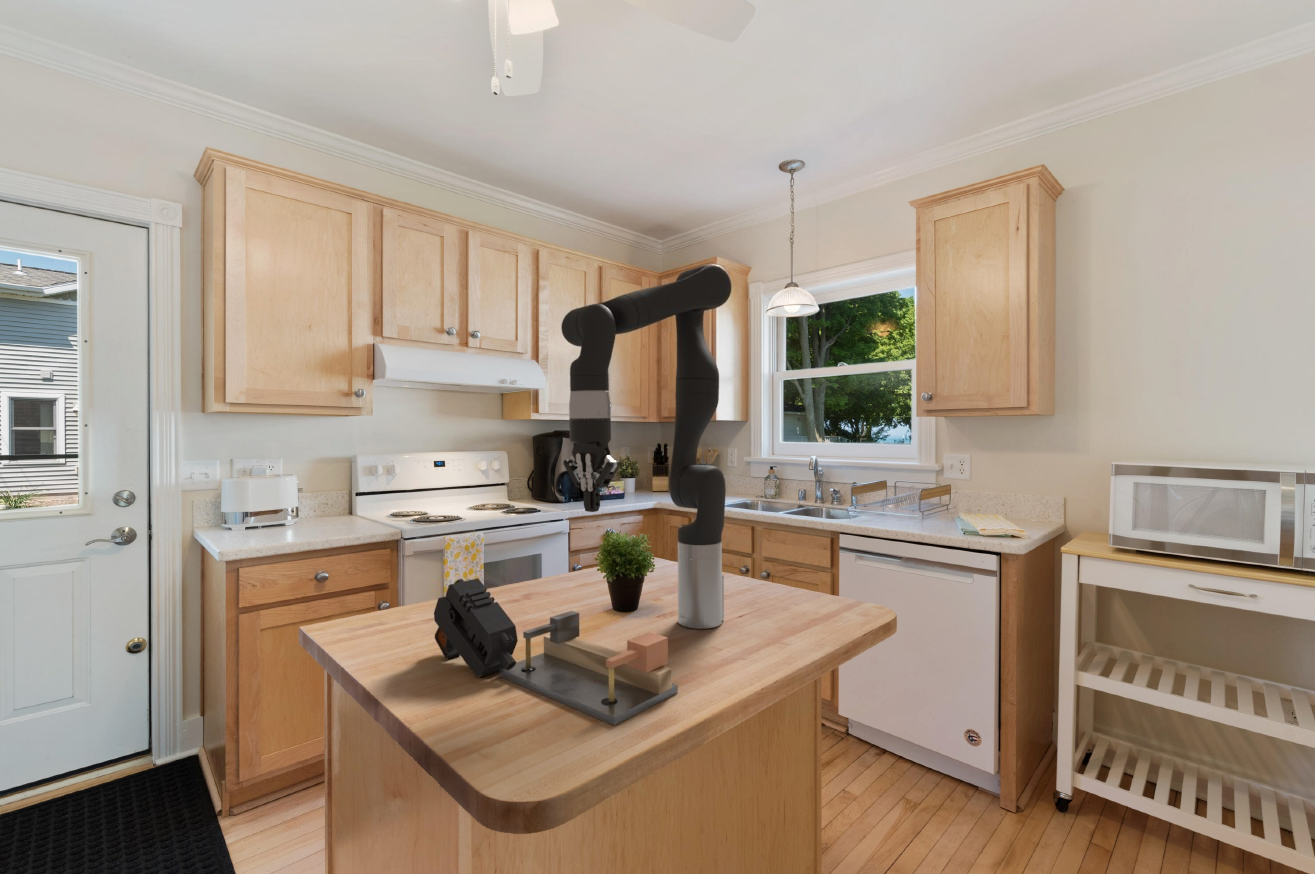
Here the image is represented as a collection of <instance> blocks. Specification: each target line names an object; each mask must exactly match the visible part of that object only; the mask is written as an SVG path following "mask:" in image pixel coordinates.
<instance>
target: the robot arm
mask: <svg viewBox="0 0 1315 874" xmlns="http://www.w3.org/2000/svg"><path fill="white" fill-rule="evenodd" d="M732 288H733V287H732V280H731V278H730V275H729V273H728V272H727V270H726V269H725V268H724V267H722V266H721V265H718V264H713V263H707V264H703V265H699V266H697V267H693V268H690V269H686V270H684V271H683V272H681V273H680V274H678V276H677V278H676V280H675V281H673V282H669V283H665V284H661V285H656V286H652V287H647V288H643V289H639V290H635V291H631V292H628V293H625V294H622V295H618V296H615V297H613V298H611V299H609V300H606V301H603V302H600V303H599V302H598V303H593V304H589V305H588V304H587V305H584V306H581V307H578V308H577V307H576V308H574V309H572V310H570V311H568V313H566V314H565V315H564V317H563V319H562V322H561V333H562V336H563V338H564V339H565V341H567V342H568V343H570V344H571V345H572V346H575V347H579V348H580V352H579V356H578V357H577V358H575V359H574V360H573V361H572V362H571V363H570V367H569V387H570V388H569V389H570V391H569V393H570V395H569V401H568V402H569V403H568V404H569V405H568V406H569V407H568V411H569V412H568V414H569V415H568V417H569V419H568V420H569V442H570V443H573V445H572V446H573V447H572V450H571V456H570V457H569V458H568V459H564V460H563V466H564V467H565V470H566V472H567V473H568V476H569V477H570V479H571V481H572V483H573V485H574V486H575V487H576V488H580V489H581V491H582V492H583V508H584V510H585V512H588V513H594V512H598V511H599V510H600V507H601V491H602V489H605V488H608V487H609V486H610V484H611V482H612V481H613V478H614V477H615V475H616V473H617V472H618V470H619V468H620V466H621V462H620V460H614V458H613V457H612V456H611V450H610V447H609V443H610V442H611V441H612V419H611V418H612V417H611V415H612V412H611V411H612V409H611V399H610V386H609V385H610V382H609V381H610V380H609V379H610V378H609V376H610V374H609V368H610V367H609V366H610V364H611V360H612V356H613V350H614V346H615V342H616V341H615V340H616V336H617V335H623V334H627V333H631V332H634V331H636V330H637V331H638V330H640V329H642V328H645V327H648V326H651V325H653V324H656V323H659V322H661V321H663V320H665V319H668V318H671V317H673V316H675V328H676V372H675V373H676V374H675V416H674V418H675V419H674V435H673V436H674V437H673V447H672V455H671V463H670V471H669V481H668V482H669V487H668V488H669V495H670V498H671V501H672V503H674V505H675V506H676V507H679V508H683V509H685V508H686V509H693V510H696V517H695V520H694V521H692V522H691V523H688V524H685V525H682V526H680V527H679V528H678V531H677V596H678V597H677V607H678V608H677V615H678V616H677V623H678V624H679V625H680V626H682V627H685V628H690V629H697V630H698V629H700V630H704V629H705V630H706V629H711V628H713V629H714V628H716V627H719V626H721V625H722V623H723V620H725V584H724V583H725V577H724V575H723V574H722V572H723V568H722V565H723V564H722V563H723V562H722V561H723V558H722V555H723V554H722V553H723V552H722V550H723V549H722V548H723V547H722V544H723V543H722V540H723V539H722V535H723V531H724V526H725V510H726V509H725V508H726V507H725V506H726V491H727V490H726V480H725V476H724V473H723V471H722V470H721V468H719V467H717V466H714V465H702V464H701V465H699V464H698V465H697V455H698V448H699V444H700V441H701V437H702V436H703V434H704V432H705V430H706V428H707V427H708V426H709V424H710V422H711V420H712V418H713V416H714V414H715V413H716V410H717V409H718V405H719V399H720V398H719V395H720V372H719V368H718V366H717V363H716V360H715V358H714V356H713V354H712V352H711V350H710V349H709V347H708V343H707V342H706V339H705V333H704V332H705V331H704V316H705V315H704V314H705V311H709V310H714V309H718V308H720V307H721V306H723V305H724V304H725V303H727V301H728V300H729V298H730V296H731V294H732Z"/></svg>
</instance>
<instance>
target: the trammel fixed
mask: <svg viewBox="0 0 1315 874" xmlns="http://www.w3.org/2000/svg"><path fill="white" fill-rule="evenodd" d="M548 633H549V634H548ZM545 634H546V635H545ZM522 635H523V639H525V659H526V668H531V657H532V655H531V654H532V653H531V651H532V650H531V646H532V645H531V643H532V641H531V639H533V638H535V637H539V636H542V635H543V653H546V654H549V655H551V656H554V657H557V658H560V659H562V660H565V661H568V662H571V663H573V664H576V665H579V666H582V667H584V668H587V669H590V670H593V671H595V672H598V673H601V674H604V675H606V676H609V667H606V659H609V658H611V657H614V656H616V655H619V654H621V653H622V652H620V651H619V650H615V649H611V648H608V647H606V646H602V645H599V644H596V643H592V642H589V641H587V640H583V639H580V638H579V637H580V612H577V611H574V610H569V611H566V612H563V613H560V614H556V615H554V616H549V623H547V624H544V625H540V626H537V627H534V628H530V629H528V630H523V632H522ZM672 674H673V673H672V668H670V667H667V666H665V665H663V666H660V667H658V668H656V669H654V670H652V671H650V672H647V673H646V672H643V671H640V670H637V669H634V668H631V667H628V666H627V662H626V663H624V664H621V665H619V666H617V667H614V678H615V679H617V680H620V681H623V682H626V683H629V684H631V685H634V686H637V687H640V688H642V689H645V690H648V691H651V692H653V693H656V694H661V693H663V692H665V691H667V690H669V689H671V688H672V683H673V681H672V676H673V675H672Z"/></svg>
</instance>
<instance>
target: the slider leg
mask: <svg viewBox="0 0 1315 874" xmlns="http://www.w3.org/2000/svg"><path fill="white" fill-rule="evenodd" d="M668 640H669V639H668V637H667V636H663V635H659V634H658V633H657V634H656V633H653V632H650V631H648V632H646V633H643V634H639V635H637V636H635V637H633V638H630V639H627V640H626V642H627V643H626V645H627V647H626V648H627V649H626V651H624V652H621V654H619V655H616V656H614V657H611V658H609V659H606V667H609V701H610V702H613V701H614V667H617V666H619V665H621V664H624V663H626V662H627V666H628V667H631V668H634V669H637V670H640V671H643V672H646V673H647V672H650V671H652V670H654V669H656V668H658V667H660V666H665V665H666V664H669V641H668Z"/></svg>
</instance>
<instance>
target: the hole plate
mask: <svg viewBox="0 0 1315 874" xmlns="http://www.w3.org/2000/svg"><path fill="white" fill-rule="evenodd" d="M498 677H501V678H503V679H505V680H508V681H510V682H512V683H515V684H516V685H519V686H521V687H524V688H526V689H528V690H531V691H533V692H535V693H538V694H540V695H542V696H544V697H547V698H549V699H550V700H551V699H552V700H553V701H555V702H558V703H561V704H563V705H565V706H568V707H570V708H573V709H575V710H577V711H579V712H582V713H583V714H586V715H588V716H591V717H594V718H595V719H598V720H599V721H603V722H605V723H607V724H609V725H611V726H614V727H615V726H617V725H619V724H620V723H623V722H624V721H627V720H628V719H630V718H632V717H635V716H636V715H638V714H640V713H641V712H644V711H646V710H647V709H650V708H651V707H653V706H654V705H657V704H659V703H661V702H663V701H665V700H666V699H669V698H670V697H672V696H674V695H676V694H678V693H679V692H678V690H679V688H678V684H676V683H674V682H672V688H671V689H669V690H667V691H665V692H663V693H661V694H656V693H653V692H651V691H648V690H645V689H642V688H640V687H637V686H634V685H631V684H629V683H626V682H623V681H620V680H617V679H615V678H614V701H613V702H610V701H609V676H606V675H604V674H601V673H598V672H595V671H593V670H590V669H587V668H584V667H582V666H579V665H576V664H573V663H571V662H568V661H565V660H562V659H560V658H557V657H554V656H551V655H549V654H546V653H544V652H542V653H539V654H537V655H534V656H531V668H526V658H525V659H522V660H520V661H516V664H515V666H514V667H513V668H512V669H510V670H506V669H505V668H504V667H502V668H500V669H499V670H498Z"/></svg>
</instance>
